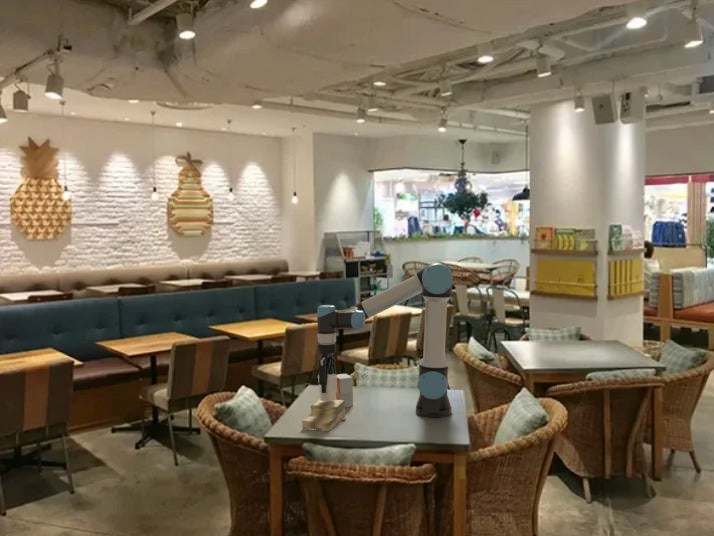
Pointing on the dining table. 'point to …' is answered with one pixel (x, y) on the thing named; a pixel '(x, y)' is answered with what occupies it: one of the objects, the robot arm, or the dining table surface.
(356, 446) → the dining table surface
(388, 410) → the dining table surface
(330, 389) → the white cup
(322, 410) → the riser
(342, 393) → the small box
